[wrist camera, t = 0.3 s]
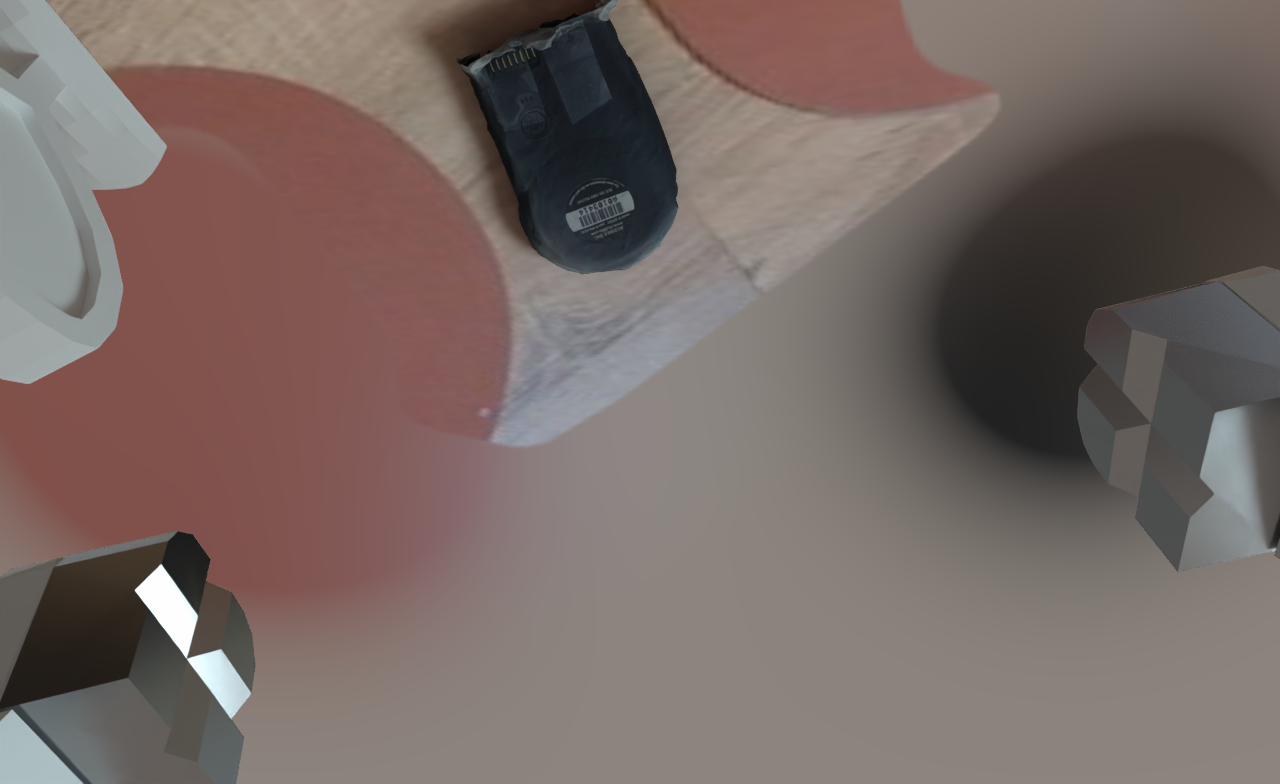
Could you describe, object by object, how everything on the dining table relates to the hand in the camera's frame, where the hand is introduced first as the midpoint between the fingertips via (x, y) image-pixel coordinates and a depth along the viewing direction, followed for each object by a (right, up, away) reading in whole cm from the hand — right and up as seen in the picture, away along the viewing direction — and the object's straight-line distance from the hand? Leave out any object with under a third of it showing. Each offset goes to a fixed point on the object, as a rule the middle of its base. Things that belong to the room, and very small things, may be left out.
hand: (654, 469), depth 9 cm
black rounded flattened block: (-4, +15, +48) cm, 51 cm away
